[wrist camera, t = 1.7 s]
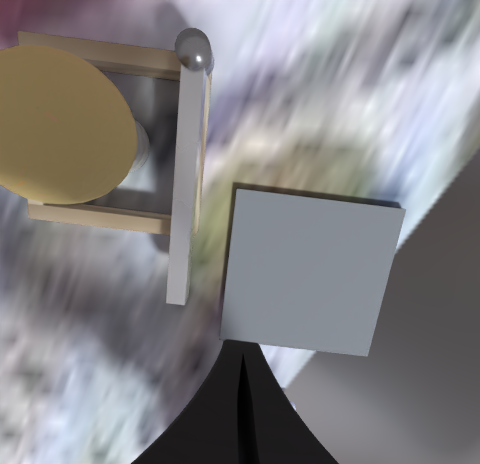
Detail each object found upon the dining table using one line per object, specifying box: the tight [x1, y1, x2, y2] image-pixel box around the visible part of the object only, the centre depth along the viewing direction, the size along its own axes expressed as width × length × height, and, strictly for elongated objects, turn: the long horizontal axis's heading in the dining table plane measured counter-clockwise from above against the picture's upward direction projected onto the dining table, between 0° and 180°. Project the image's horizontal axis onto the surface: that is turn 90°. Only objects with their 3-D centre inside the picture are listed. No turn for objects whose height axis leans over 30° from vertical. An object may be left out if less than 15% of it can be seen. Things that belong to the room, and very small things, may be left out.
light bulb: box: [0, 45, 150, 204], centre depth 14 cm, size 6×6×10 cm
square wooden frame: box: [18, 31, 212, 238], centre depth 18 cm, size 11×11×2 cm
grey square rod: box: [166, 28, 214, 305], centre depth 16 cm, size 15×2×2 cm, turn 173°
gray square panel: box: [219, 188, 406, 356], centre depth 21 cm, size 12×12×1 cm
